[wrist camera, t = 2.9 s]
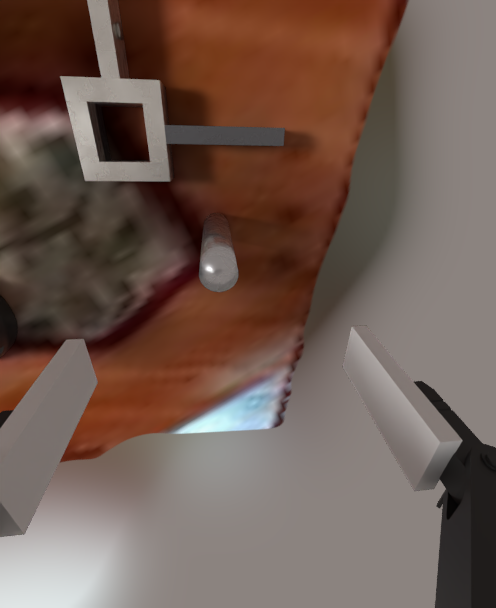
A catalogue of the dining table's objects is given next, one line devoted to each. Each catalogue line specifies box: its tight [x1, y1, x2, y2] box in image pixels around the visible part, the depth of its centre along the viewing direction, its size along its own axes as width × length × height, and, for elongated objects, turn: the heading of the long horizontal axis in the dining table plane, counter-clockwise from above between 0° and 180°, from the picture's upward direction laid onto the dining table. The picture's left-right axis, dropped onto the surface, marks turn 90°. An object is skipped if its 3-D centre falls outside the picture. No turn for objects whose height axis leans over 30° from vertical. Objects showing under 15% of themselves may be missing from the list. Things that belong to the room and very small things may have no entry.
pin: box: [199, 213, 238, 292], centre depth 30 cm, size 3×3×16 cm
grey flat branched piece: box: [60, 0, 285, 181], centre depth 27 cm, size 21×21×4 cm
